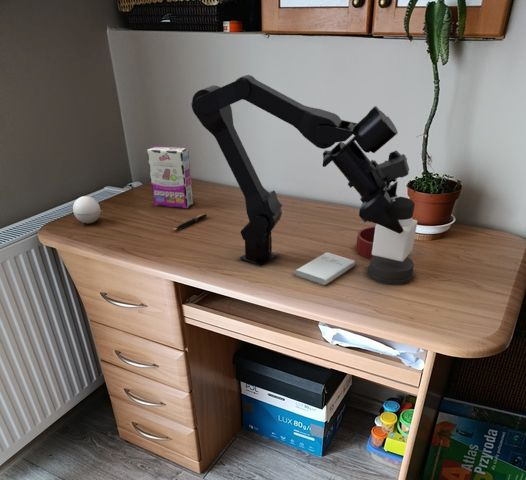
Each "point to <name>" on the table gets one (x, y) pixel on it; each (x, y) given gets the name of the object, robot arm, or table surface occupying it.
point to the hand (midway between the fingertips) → (403, 225)
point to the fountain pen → (190, 221)
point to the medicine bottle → (392, 242)
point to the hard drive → (325, 268)
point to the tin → (365, 242)
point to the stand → (390, 270)
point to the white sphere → (86, 209)
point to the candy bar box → (170, 176)
